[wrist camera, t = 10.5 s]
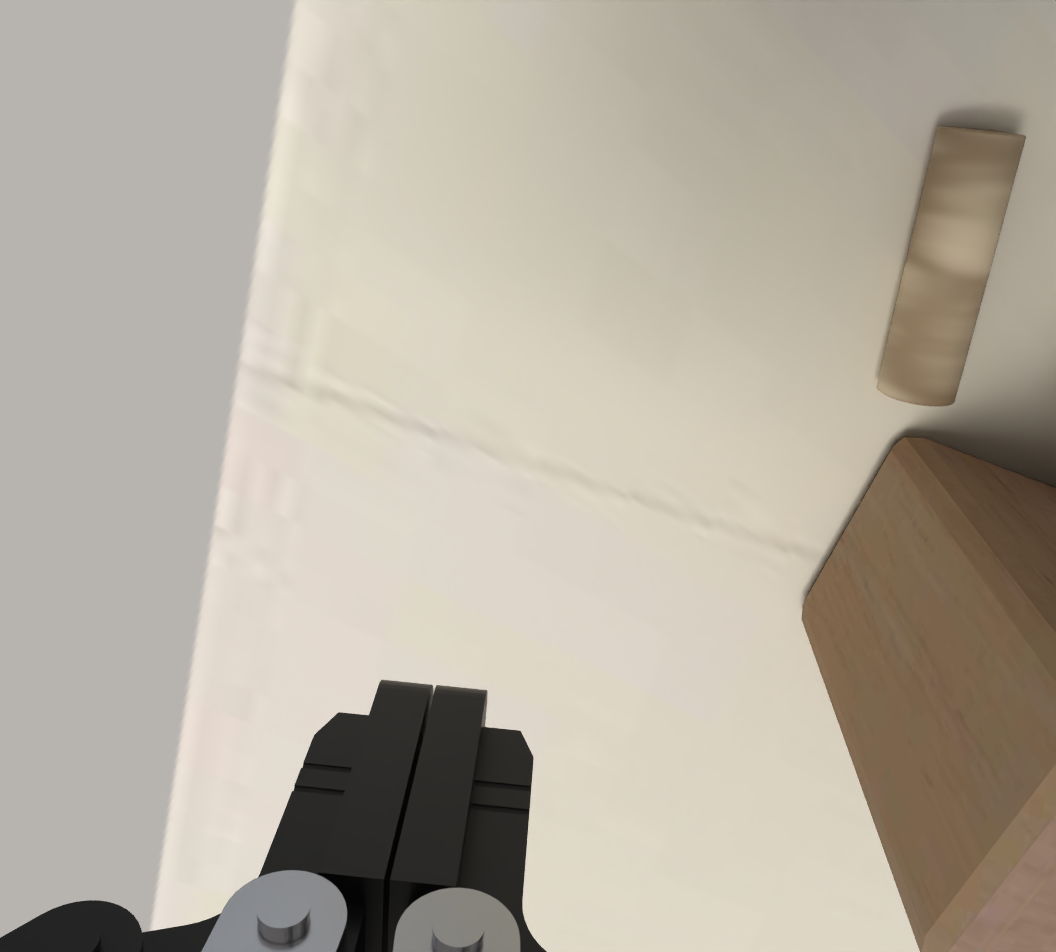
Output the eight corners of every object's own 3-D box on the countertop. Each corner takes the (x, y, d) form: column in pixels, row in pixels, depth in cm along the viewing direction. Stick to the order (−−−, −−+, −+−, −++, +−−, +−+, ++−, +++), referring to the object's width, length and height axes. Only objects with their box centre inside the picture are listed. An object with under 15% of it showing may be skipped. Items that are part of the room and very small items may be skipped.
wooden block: (1106, 501, 43) (1483, 847, 25) (983, 680, 47) (1230, 1091, 29) (896, 421, 42) (1127, 719, 24) (788, 610, 46) (917, 989, 28)
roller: (1041, 137, 36) (965, 126, 38) (998, 137, 34) (920, 125, 36) (969, 399, 40) (904, 376, 42) (927, 410, 38) (861, 386, 41)
